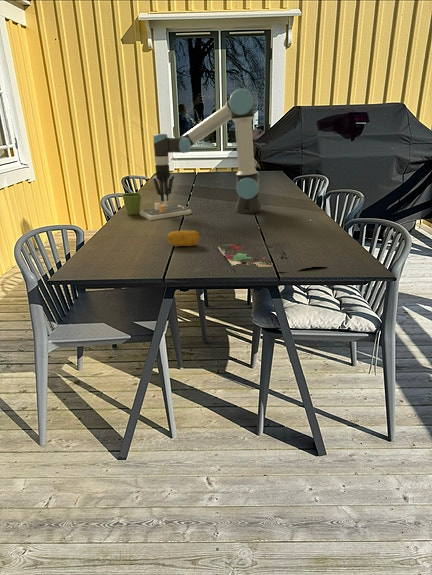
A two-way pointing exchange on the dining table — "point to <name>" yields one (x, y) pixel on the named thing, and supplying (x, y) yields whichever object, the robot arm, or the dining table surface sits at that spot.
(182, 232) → the potato
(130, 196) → the plant pot
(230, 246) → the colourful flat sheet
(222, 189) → the dining table surface
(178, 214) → the fader panel
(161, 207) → the fader knob
